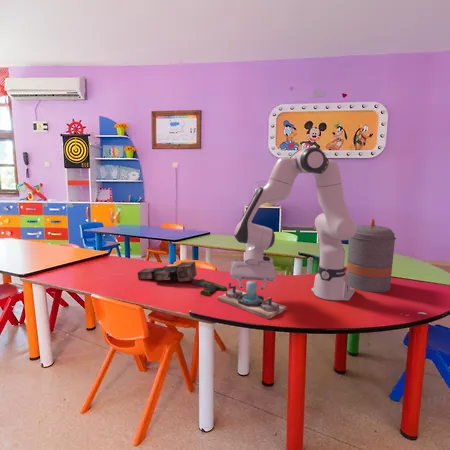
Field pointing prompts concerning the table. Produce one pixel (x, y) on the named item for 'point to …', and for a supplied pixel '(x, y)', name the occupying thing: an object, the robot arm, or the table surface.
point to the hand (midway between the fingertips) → (251, 288)
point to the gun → (208, 286)
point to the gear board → (261, 309)
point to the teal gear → (251, 293)
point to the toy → (170, 272)
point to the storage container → (371, 258)
